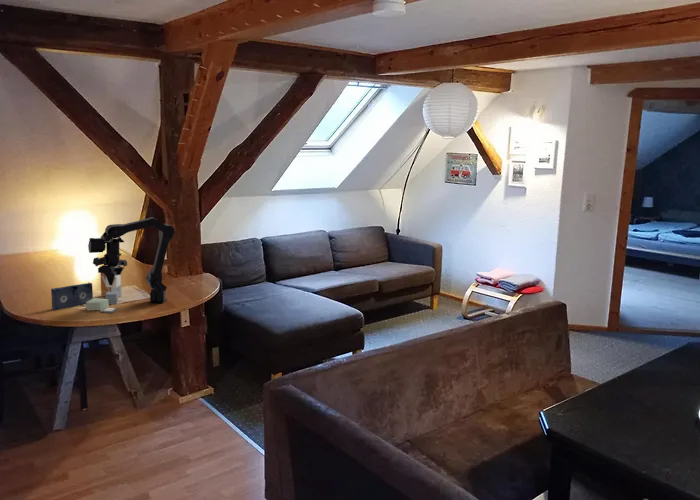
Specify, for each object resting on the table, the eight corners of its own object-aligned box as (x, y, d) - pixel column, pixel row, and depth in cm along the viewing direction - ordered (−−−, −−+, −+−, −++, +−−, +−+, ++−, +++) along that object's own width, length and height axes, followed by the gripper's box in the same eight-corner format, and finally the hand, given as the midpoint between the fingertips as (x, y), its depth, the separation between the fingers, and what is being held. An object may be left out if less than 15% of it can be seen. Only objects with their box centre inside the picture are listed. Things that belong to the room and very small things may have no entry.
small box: (101, 296, 280) (100, 271, 278) (111, 293, 286) (110, 269, 283) (111, 298, 276) (110, 273, 274) (122, 296, 282) (121, 271, 279)
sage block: (108, 307, 264) (108, 299, 263) (100, 311, 257) (100, 303, 256) (94, 306, 265) (94, 298, 264) (86, 310, 258) (86, 302, 257)
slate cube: (118, 301, 274) (118, 291, 273) (116, 304, 269) (116, 294, 268) (107, 301, 273) (107, 291, 272) (105, 304, 268) (105, 294, 267)
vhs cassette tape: (91, 301, 270) (90, 282, 268) (93, 303, 268) (93, 283, 267) (51, 309, 257) (50, 288, 255) (54, 310, 255) (52, 289, 253)
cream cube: (120, 285, 264) (120, 274, 263) (116, 287, 259) (116, 277, 258) (110, 284, 264) (110, 274, 263) (105, 286, 259) (105, 276, 258)
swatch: (118, 309, 261) (118, 307, 261) (112, 313, 255) (112, 311, 255) (105, 308, 261) (105, 307, 261) (100, 312, 255) (100, 310, 255)
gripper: (104, 247, 268) (105, 278, 271) (86, 254, 250) (86, 287, 252) (127, 248, 268) (127, 279, 271) (110, 255, 250) (111, 289, 252)
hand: (113, 283), depth 262 cm, fingers closed on cream cube, 5 cm apart
